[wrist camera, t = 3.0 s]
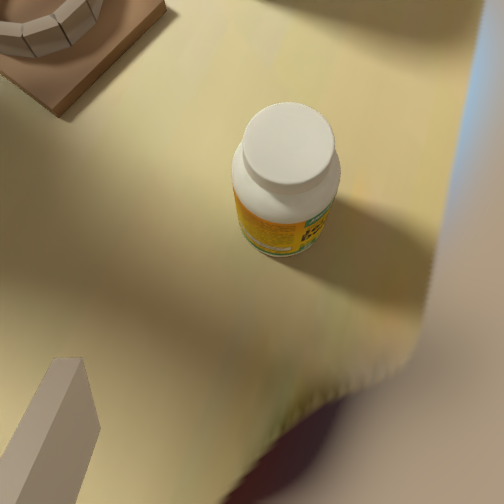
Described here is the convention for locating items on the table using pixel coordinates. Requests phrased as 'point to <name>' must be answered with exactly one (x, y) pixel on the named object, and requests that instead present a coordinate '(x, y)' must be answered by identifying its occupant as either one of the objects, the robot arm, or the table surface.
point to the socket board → (80, 58)
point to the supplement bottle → (285, 178)
